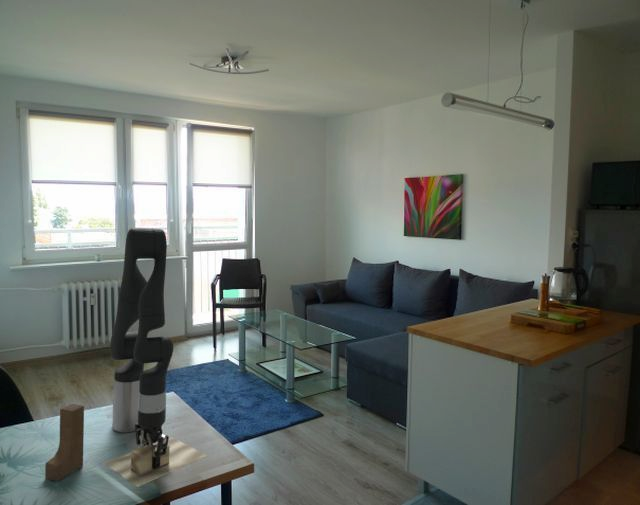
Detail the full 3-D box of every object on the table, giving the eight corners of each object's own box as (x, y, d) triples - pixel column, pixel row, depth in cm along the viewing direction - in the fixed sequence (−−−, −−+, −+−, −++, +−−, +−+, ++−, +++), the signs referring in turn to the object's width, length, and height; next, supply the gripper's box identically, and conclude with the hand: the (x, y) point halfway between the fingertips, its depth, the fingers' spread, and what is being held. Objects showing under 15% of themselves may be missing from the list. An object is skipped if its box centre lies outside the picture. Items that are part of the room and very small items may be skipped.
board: (103, 467, 136) (103, 463, 136) (171, 440, 154) (171, 436, 154) (137, 491, 125) (137, 486, 125) (206, 459, 143) (207, 455, 143)
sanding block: (130, 469, 133) (131, 450, 132) (159, 458, 140) (159, 440, 139) (140, 476, 129) (141, 457, 129) (169, 464, 136) (169, 445, 136)
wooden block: (57, 482, 127) (58, 417, 126) (44, 478, 128) (45, 414, 127) (83, 466, 136) (84, 405, 134) (71, 463, 137) (72, 403, 136)
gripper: (126, 403, 135) (124, 460, 136) (154, 418, 126) (152, 479, 127) (149, 396, 141) (148, 451, 142) (178, 410, 132) (176, 468, 133)
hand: (150, 464), depth 134 cm, fingers closed on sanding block, 5 cm apart
